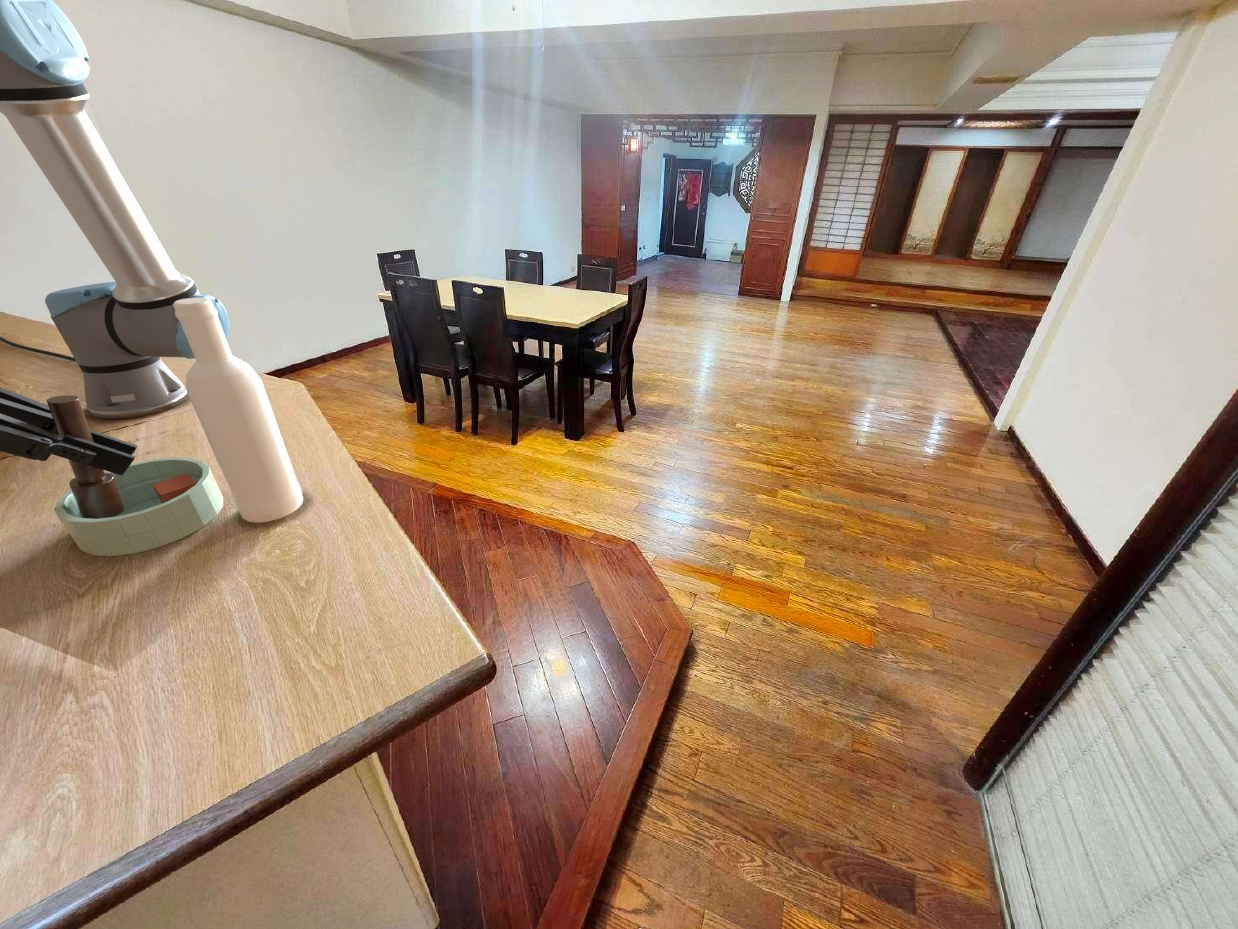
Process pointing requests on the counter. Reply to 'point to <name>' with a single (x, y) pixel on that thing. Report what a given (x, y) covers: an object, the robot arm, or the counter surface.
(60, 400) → the pestle
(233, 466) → the bottle
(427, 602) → the counter surface
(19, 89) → the robot arm
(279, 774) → the counter surface
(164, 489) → the block
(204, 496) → the bowl
